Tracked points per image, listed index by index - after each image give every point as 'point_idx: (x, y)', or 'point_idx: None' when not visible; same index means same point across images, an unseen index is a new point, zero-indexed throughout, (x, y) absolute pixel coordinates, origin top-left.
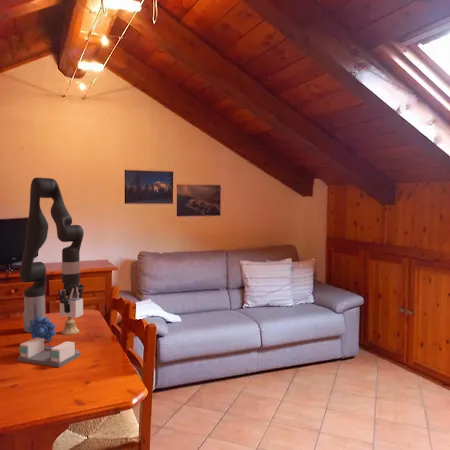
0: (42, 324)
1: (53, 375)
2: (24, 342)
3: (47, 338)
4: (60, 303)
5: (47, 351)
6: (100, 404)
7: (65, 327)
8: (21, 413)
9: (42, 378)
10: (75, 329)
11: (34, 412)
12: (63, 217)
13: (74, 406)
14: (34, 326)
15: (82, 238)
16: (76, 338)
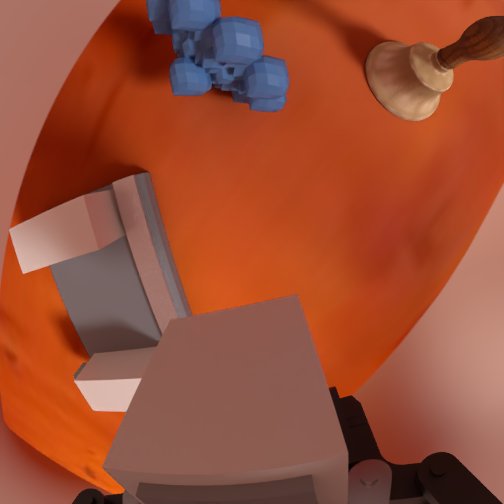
0: (206, 47)
1: (81, 395)
2: (24, 222)
3: (233, 98)
4: (129, 428)
5: (126, 261)
6: (111, 491)
7: (394, 62)
8: (19, 426)
9: (58, 384)
10: (421, 107)
11: (33, 438)
12: None
13: (80, 471)
14: (169, 28)
15: None
16: (363, 177)
